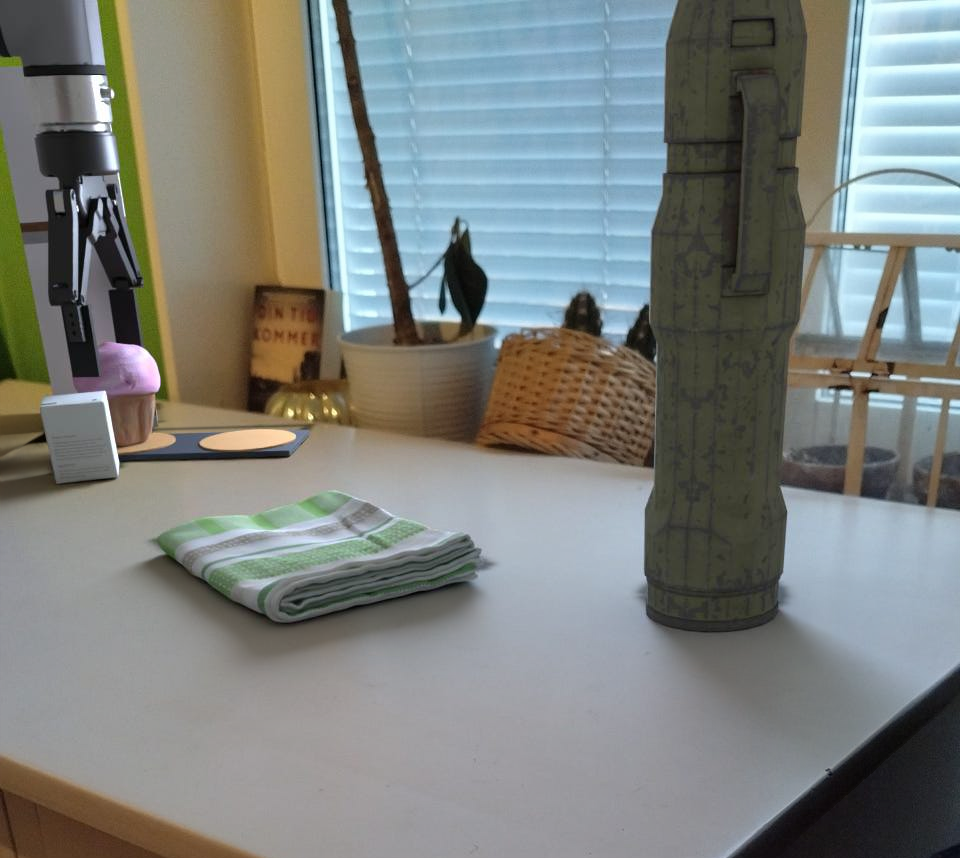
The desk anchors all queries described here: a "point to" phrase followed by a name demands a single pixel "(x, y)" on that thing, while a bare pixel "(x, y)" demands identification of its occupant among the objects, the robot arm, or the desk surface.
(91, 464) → the product carton
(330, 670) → the desk surface
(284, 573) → the dish towel
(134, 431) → the cupcake
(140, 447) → the placemat
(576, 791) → the desk surface
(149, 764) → the desk surface
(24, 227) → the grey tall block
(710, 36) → the thermos
